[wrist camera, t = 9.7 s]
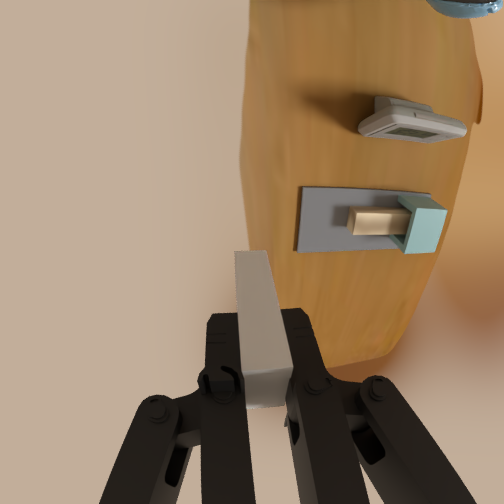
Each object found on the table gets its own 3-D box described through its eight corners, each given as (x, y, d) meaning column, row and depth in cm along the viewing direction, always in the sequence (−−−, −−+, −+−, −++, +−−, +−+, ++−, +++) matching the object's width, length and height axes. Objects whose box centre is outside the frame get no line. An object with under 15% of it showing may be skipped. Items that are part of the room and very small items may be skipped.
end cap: (398, 194, 43) (416, 208, 38) (429, 197, 43) (447, 210, 38) (389, 237, 47) (404, 253, 42) (418, 236, 48) (434, 252, 43)
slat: (349, 205, 43) (357, 213, 41) (412, 208, 44) (420, 214, 42) (346, 226, 46) (352, 234, 43) (407, 227, 47) (415, 234, 44)
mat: (302, 186, 42) (303, 187, 41) (429, 193, 44) (431, 194, 43) (296, 251, 48) (297, 252, 48) (415, 246, 50) (417, 247, 49)
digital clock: (350, 132, 37) (384, 144, 28) (360, 80, 33) (397, 79, 24) (423, 156, 40) (461, 174, 31) (433, 112, 35) (473, 122, 26)
